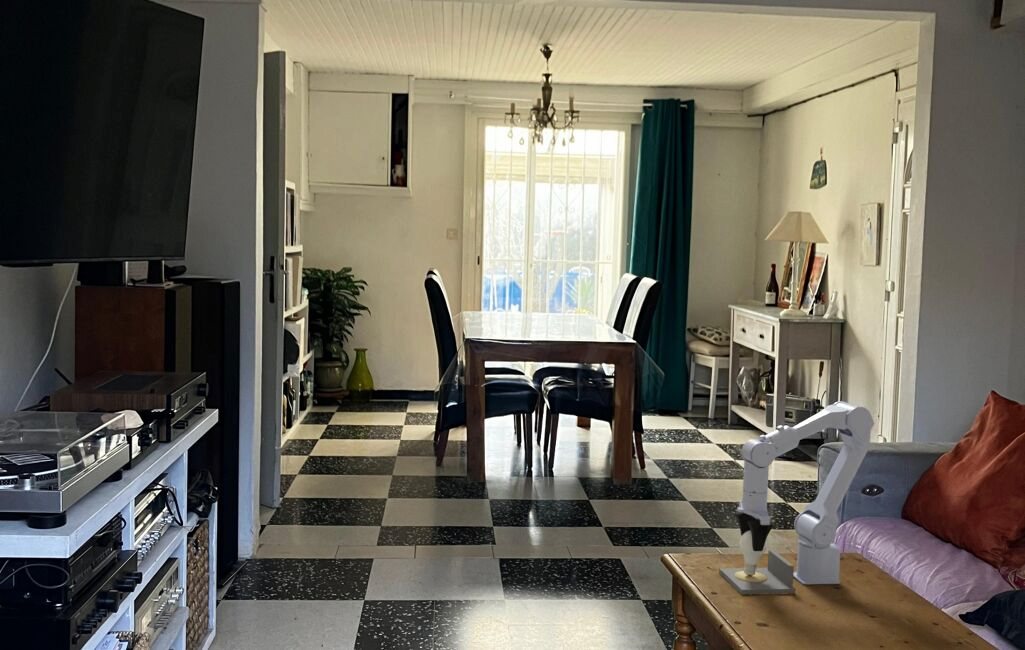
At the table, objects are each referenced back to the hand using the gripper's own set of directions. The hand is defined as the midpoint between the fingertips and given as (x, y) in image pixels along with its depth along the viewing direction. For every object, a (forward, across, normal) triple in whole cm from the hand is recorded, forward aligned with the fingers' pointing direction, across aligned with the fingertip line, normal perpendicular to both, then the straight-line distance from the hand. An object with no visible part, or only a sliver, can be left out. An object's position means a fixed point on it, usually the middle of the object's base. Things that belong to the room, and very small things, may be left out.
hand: (752, 546), depth 234 cm
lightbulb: (+7, 0, 0) cm, 7 cm away
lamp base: (+9, +1, +1) cm, 9 cm away
